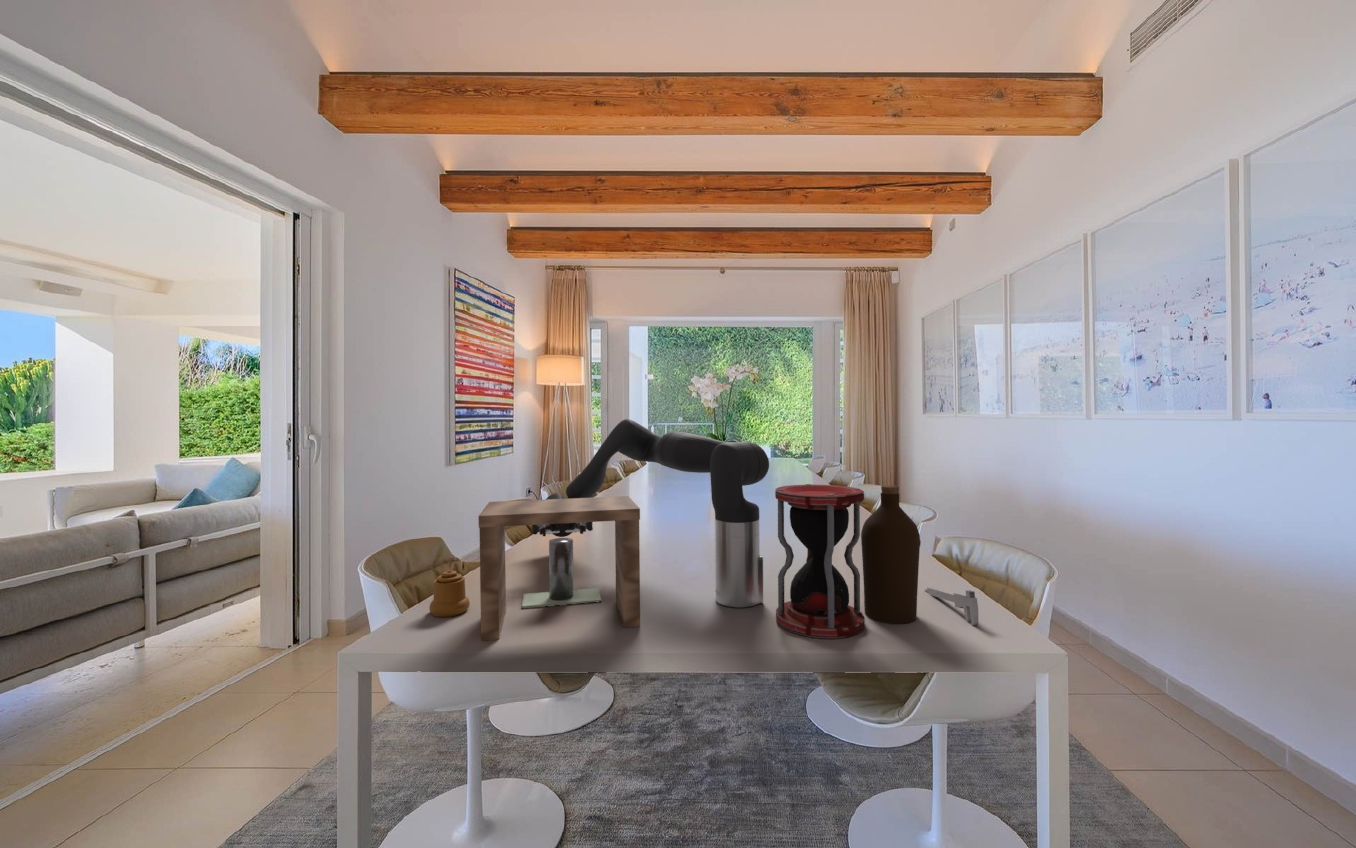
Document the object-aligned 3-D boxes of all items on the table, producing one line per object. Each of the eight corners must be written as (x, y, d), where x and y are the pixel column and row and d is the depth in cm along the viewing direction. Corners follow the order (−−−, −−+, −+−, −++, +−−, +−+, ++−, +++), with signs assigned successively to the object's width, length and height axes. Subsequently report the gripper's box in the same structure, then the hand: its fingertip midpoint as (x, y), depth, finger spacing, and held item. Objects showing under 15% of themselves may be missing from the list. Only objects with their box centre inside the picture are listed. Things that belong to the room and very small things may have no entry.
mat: (598, 590, 124) (598, 588, 124) (601, 602, 116) (601, 599, 116) (524, 596, 120) (523, 593, 120) (521, 608, 113) (521, 606, 113)
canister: (572, 592, 121) (572, 537, 121) (573, 599, 116) (573, 542, 116) (549, 593, 120) (549, 538, 120) (549, 601, 115) (548, 544, 115)
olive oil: (887, 628, 100) (886, 491, 100) (849, 609, 110) (849, 484, 110) (932, 620, 104) (932, 488, 104) (892, 603, 114) (892, 481, 114)
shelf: (629, 599, 117) (628, 496, 117) (641, 628, 102) (639, 508, 101) (490, 611, 111) (489, 501, 111) (480, 643, 96) (478, 516, 95)
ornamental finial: (477, 607, 114) (452, 620, 107) (447, 603, 116) (420, 616, 109) (477, 568, 114) (452, 578, 107) (446, 565, 116) (420, 575, 109)
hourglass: (786, 640, 96) (785, 496, 95) (768, 608, 112) (767, 484, 111) (878, 638, 96) (878, 494, 96) (847, 606, 112) (846, 483, 112)
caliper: (978, 628, 101) (978, 593, 101) (972, 628, 101) (973, 593, 101) (929, 591, 122) (929, 563, 122) (924, 591, 122) (924, 563, 122)
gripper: (533, 506, 142) (530, 516, 126) (589, 503, 145) (593, 512, 129) (533, 535, 142) (531, 549, 126) (589, 532, 145) (594, 544, 129)
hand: (563, 530), depth 128 cm, fingers open, 8 cm apart
